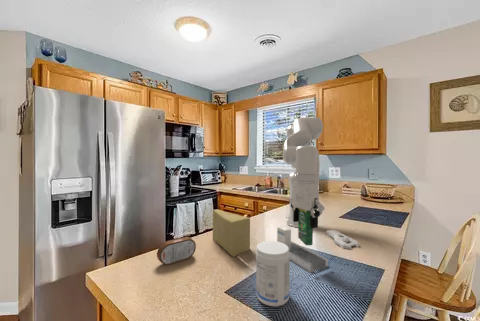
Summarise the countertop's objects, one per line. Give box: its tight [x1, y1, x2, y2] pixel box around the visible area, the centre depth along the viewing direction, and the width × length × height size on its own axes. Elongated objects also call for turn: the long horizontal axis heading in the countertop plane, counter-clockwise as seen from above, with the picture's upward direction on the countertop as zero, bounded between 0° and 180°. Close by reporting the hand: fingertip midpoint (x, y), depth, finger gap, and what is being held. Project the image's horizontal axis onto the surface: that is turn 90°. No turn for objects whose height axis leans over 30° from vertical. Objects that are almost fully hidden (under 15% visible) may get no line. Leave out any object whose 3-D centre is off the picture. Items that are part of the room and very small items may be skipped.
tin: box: [156, 236, 197, 266], centre depth 85 cm, size 15×3×8 cm, turn 129°
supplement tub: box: [255, 240, 290, 307], centre depth 63 cm, size 10×10×15 cm
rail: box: [289, 240, 330, 277], centre depth 87 cm, size 10×22×4 cm, turn 29°
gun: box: [326, 229, 360, 250], centre depth 106 cm, size 18×3×10 cm
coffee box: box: [297, 208, 314, 246], centre depth 83 cm, size 8×3×13 cm, turn 6°
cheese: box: [212, 209, 251, 258], centre depth 99 cm, size 22×10×15 cm, turn 39°
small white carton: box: [276, 225, 292, 251], centre depth 94 cm, size 5×3×9 cm, turn 29°
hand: (305, 224), depth 83 cm, fingers closed on coffee box, 8 cm apart
